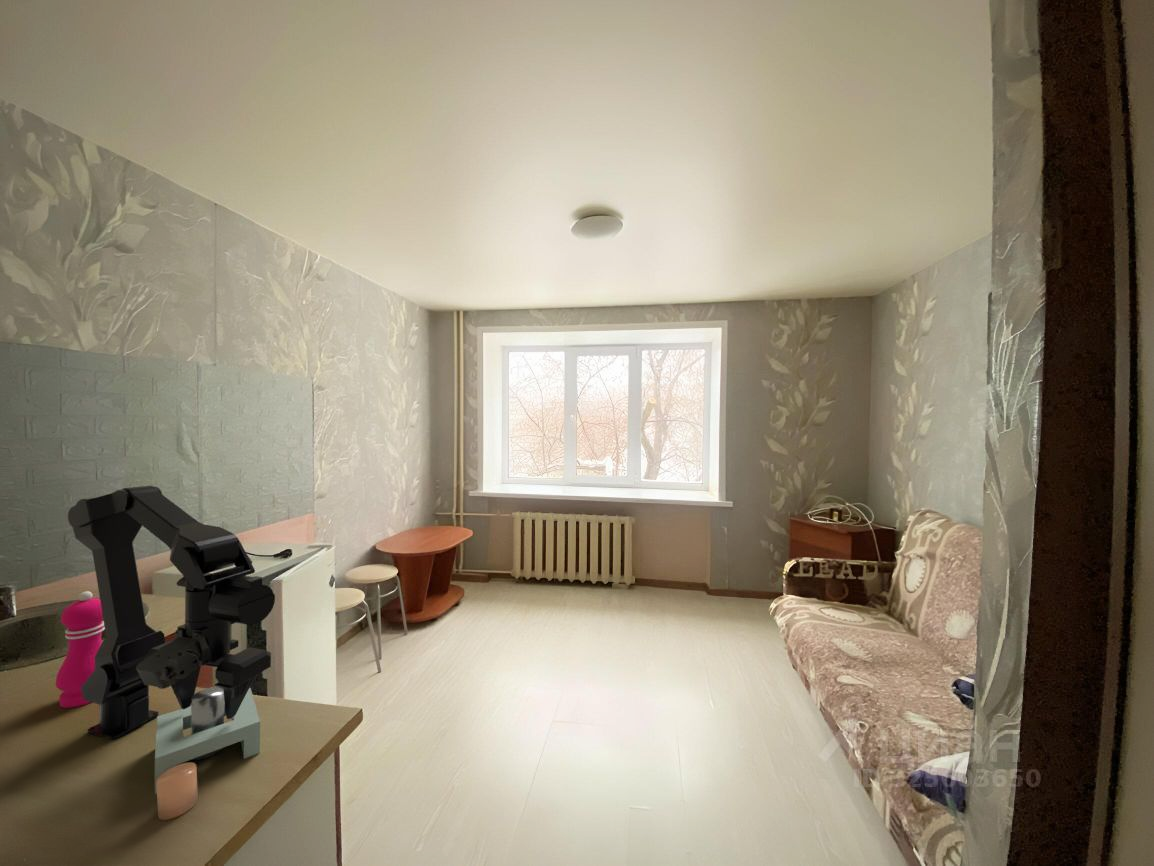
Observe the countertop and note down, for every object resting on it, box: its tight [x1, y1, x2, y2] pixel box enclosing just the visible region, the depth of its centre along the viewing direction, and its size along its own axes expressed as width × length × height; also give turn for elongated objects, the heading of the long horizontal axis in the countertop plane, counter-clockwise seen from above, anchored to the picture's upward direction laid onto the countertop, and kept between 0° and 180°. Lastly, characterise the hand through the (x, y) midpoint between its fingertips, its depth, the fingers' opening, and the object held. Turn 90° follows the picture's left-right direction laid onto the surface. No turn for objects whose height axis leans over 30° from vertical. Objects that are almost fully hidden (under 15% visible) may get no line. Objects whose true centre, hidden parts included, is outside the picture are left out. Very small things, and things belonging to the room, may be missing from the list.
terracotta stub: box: [156, 761, 199, 821], centre depth 60 cm, size 4×4×4 cm
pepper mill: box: [55, 590, 105, 709], centre depth 83 cm, size 7×7×20 cm
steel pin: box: [190, 686, 225, 761], centre depth 70 cm, size 4×4×9 cm
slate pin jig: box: [154, 687, 261, 795], centre depth 70 cm, size 12×12×5 cm
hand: (208, 712), depth 70 cm, fingers open, 9 cm apart
